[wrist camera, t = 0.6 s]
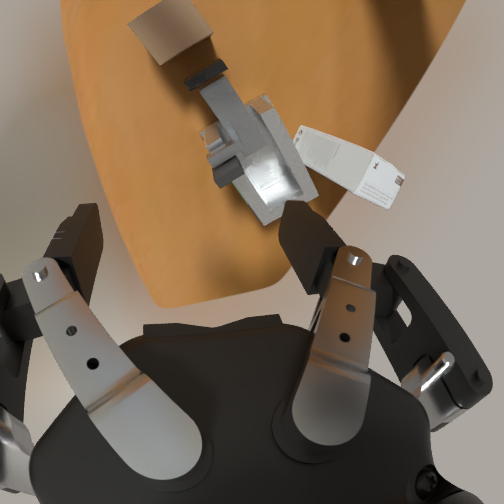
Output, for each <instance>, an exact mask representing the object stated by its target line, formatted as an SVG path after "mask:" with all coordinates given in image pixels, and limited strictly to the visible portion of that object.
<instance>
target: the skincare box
mask: <svg viewBox="0 0 504 504" xmlns="http://www.w3.org/2000/svg"><path fill="white" fill-rule="evenodd" d="M293 143H294V145H295V147H296V149H297V151H298V153H299V155H300V157H301V159H302V161H303V163H304V165H306V166H307V167H309V168H311V169H313V170H314V171H316V172H318V173H320V174H321V175H323V176H325V177H326V178H328V179H330V180H332V181H333V182H335V183H337V184H339V185H340V186H342V187H344V188H345V189H347V190H348V191H350V192H351V193H353V194H354V195H356V196H359V197H361V198H363V199H365V200H368V201H370V202H372V203H374V204H376V205H378V206H380V207H383V208H385V209H387V210H389V208H390V206H391V204H392V203H393V201H394V199H395V197H396V195H397V193H398V191H399V189H400V187H401V184H402V182H403V181H404V179H405V175H404V174H403V173H401V172H400V171H399V170H397V169H396V168H395V167H394V166H393V165H392V164H391V163H388V162H387V161H386V160H384V159H383V158H381V157H380V156H378V155H377V154H376V153H374V152H372V151H370V150H367V149H365V148H363V147H360V146H358V145H355V144H353V143H350V142H348V141H345V140H342V139H340V138H337V137H334V136H332V135H329V134H326V133H324V132H321V131H318V130H315V129H312V128H309V127H306V126H303V125H301V126H300V127H299V129H298V132H297V133H296V135H295V137H294V139H293Z"/></svg>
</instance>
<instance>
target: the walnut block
mask: <svg viewBox="0 0 504 504" xmlns="http://www.w3.org/2000/svg"><path fill="white" fill-rule="evenodd" d="M127 25H128V26H129V27H130V28H131V30H132V31H133V32H134V33H135V35H136V36H137V37H138V38H139V40H140V41H141V42H142V43H143V45H144V46H145V47H146V48H147V50H148V51H149V52H150V53H151V55H152V56H153V57H154V59H155V60H156V61H157V62H158V64H159V65H163V64H165V63H167V62H169V61H170V60H172V59H173V58H175V57H176V56H178V55H180V54H181V53H183V52H184V51H186V50H188V49H189V48H191V47H192V46H194V45H196V44H198V43H199V42H201V41H203V40H204V39H206V38H208V37H210V36H211V35H212V34H213V33H214V32H213V30H212V29H211V28H210V26H209V25H208V23H207V22H206V21H205V19H204V18H203V17H202V15H201V14H200V13H199V11H198V10H197V9H196V7H195V6H194V5H193V3H192V2H191V1H190V0H163V1H161V2H160V3H158V4H156V5H155V6H153V7H152V8H150V9H149V10H147V11H145V12H144V13H143V14H141V15H140V16H138V17H137V18H135V19H134V20H132V21H131V22H130V23H128V24H127Z"/></svg>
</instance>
